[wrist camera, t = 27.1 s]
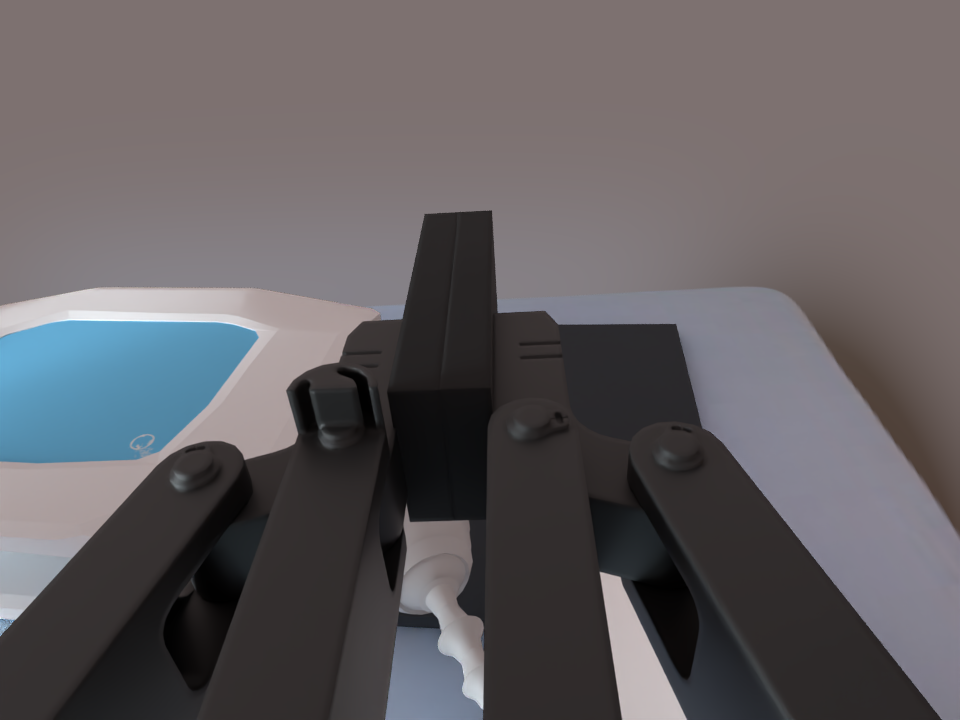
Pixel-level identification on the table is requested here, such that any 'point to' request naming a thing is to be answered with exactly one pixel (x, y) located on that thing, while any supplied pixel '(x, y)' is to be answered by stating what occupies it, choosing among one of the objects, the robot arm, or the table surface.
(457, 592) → the chalice
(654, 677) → the magnifying glass
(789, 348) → the table surface
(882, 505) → the table surface
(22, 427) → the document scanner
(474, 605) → the mat
